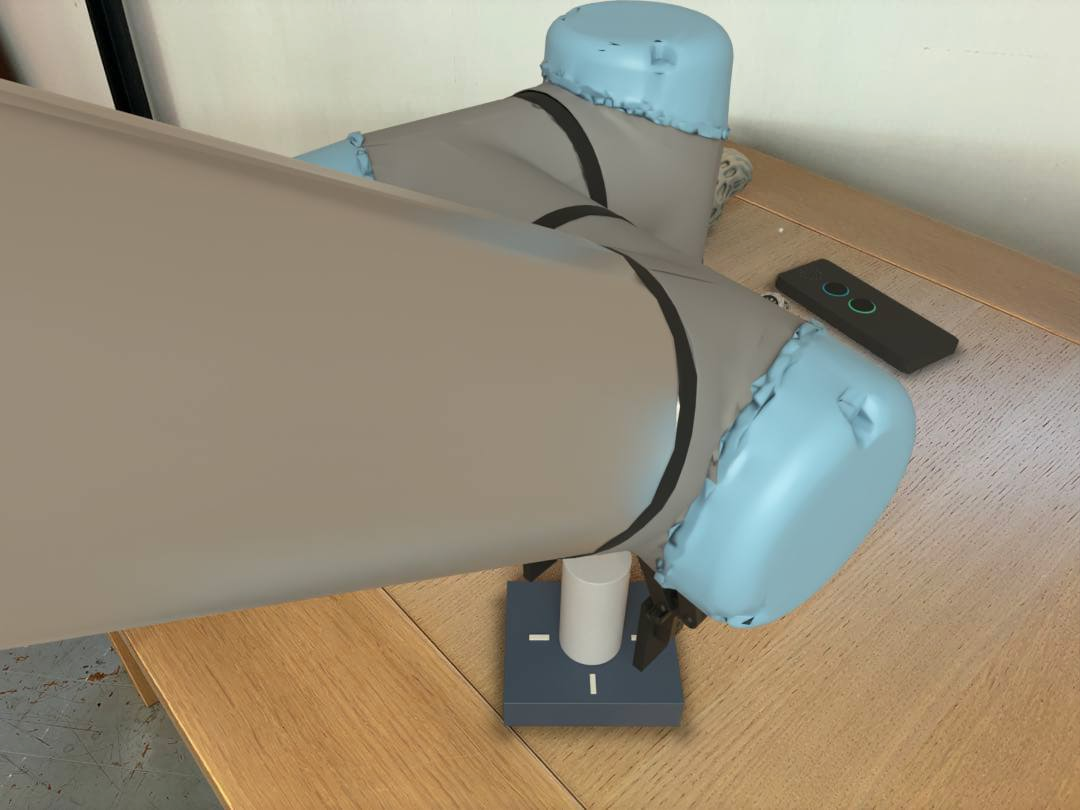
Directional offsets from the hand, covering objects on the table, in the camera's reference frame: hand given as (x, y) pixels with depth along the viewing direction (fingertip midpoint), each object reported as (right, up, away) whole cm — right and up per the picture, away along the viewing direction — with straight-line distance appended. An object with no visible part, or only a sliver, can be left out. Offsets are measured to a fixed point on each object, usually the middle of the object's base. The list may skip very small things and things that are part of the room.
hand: (592, 610), depth 56 cm
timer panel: (0, -5, +4) cm, 6 cm away
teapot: (+13, +36, +52) cm, 65 cm away
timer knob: (0, -2, +2) cm, 3 cm away
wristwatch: (+22, +22, +36) cm, 47 cm away
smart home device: (+33, +24, +38) cm, 56 cm away
